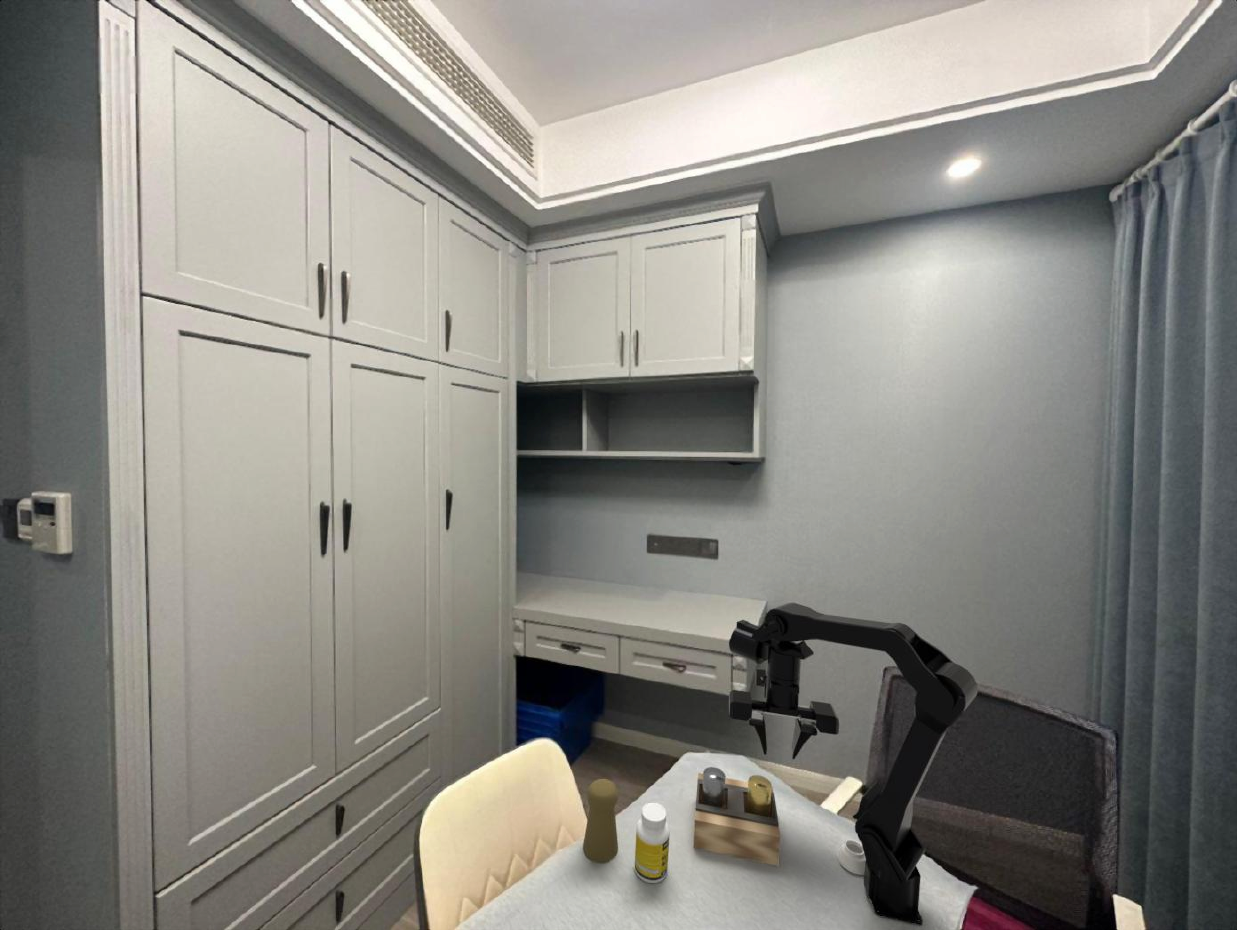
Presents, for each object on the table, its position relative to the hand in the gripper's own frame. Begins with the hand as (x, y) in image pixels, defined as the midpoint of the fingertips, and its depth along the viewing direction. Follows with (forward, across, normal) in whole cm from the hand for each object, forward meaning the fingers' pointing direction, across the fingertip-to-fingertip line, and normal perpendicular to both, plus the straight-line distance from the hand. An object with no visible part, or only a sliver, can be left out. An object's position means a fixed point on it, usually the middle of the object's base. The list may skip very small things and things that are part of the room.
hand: (778, 755), depth 88 cm
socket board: (+12, +8, +4) cm, 15 cm away
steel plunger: (+8, +12, +4) cm, 15 cm away
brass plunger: (+8, +4, +4) cm, 10 cm away
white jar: (+13, -12, +6) cm, 19 cm away
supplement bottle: (+13, +21, +16) cm, 29 cm away
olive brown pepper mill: (+13, +30, +14) cm, 35 cm away
